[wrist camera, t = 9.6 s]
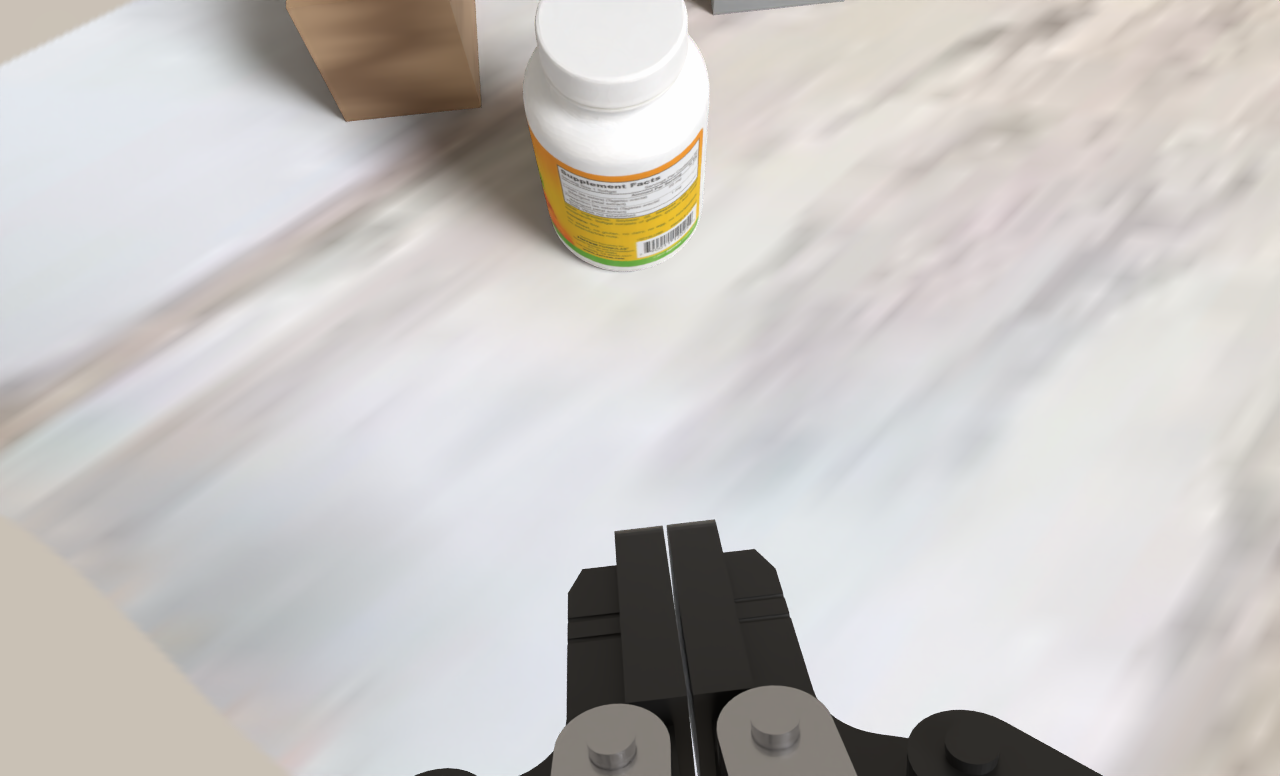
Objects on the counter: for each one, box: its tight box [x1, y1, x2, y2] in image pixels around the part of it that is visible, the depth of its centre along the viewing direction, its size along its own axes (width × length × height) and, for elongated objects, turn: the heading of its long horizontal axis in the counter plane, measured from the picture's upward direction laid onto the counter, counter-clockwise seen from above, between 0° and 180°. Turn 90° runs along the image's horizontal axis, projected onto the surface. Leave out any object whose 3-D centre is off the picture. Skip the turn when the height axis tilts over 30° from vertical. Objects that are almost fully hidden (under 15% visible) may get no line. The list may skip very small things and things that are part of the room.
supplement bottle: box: [523, 0, 709, 271], centre depth 30 cm, size 5×5×10 cm
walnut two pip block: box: [286, 0, 481, 122], centre depth 34 cm, size 5×5×6 cm
